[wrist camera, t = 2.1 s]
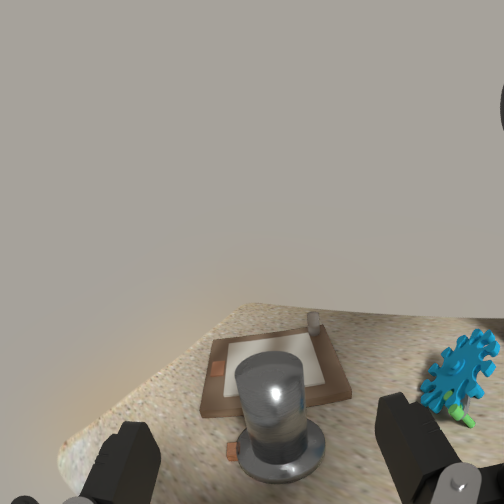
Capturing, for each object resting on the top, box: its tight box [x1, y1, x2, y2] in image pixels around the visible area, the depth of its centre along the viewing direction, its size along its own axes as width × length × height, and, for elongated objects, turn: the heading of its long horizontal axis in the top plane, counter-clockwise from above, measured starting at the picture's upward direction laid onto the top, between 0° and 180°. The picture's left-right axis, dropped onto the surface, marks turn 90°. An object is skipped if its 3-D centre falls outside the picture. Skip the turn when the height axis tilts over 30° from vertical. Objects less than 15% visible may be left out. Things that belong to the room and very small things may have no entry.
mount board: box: [200, 312, 352, 418], centre depth 36 cm, size 16×15×4 cm
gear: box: [420, 329, 500, 428], centre depth 23 cm, size 11×6×10 cm
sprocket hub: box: [227, 351, 325, 484], centre depth 23 cm, size 9×8×10 cm
